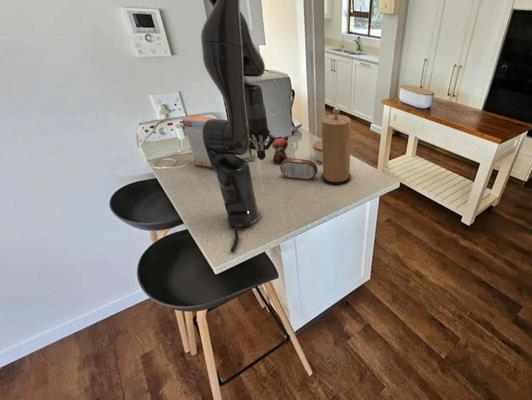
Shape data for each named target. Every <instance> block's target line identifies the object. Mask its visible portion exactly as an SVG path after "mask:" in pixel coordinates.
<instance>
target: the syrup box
mask: <svg viewBox="0 0 532 400" xmlns="http://www.w3.org/2000/svg"><path fill="white" fill-rule="evenodd" d="M238 157H239V158H241V159H243V160H245V161H246V162H250V161H252V162H253V161H254V152H253V150H252V149H251V148H250V147H249V148H248V151H247V152H246V153H245V154H244V155H238Z"/></svg>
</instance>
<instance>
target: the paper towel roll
mask: <svg viewBox="0 0 532 400" xmlns="http://www.w3.org/2000/svg"><path fill="white" fill-rule="evenodd" d="M340 111H341V110H340V108H339V107H338V106H337V107H336V106H335V107H333V109H332V112H333V114H329V115H324V116H323V117H321V140H322V154H323V163H322V174H321V180H322V181H323V182H324V183H325V184H328V185H331V186H342V185H346V184H348V183H349V182H350V181H351V173H350V166H351V164H350V163H351V136H352V134H351V132H352V119H351V118H350V117H349V116H346V115H342V114H339V113H340Z"/></svg>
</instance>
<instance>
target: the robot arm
mask: <svg viewBox="0 0 532 400" xmlns="http://www.w3.org/2000/svg"><path fill="white" fill-rule="evenodd" d="M208 1H209V3H210V5H211V8H212V9H211V11H210V13H209V15H208V16H207V18H206V20H205V22H204V24H203V26H202V28H201V29H202V30H201V33H200V41H201V51H202V53H201V54H202V62H203V65H204V68H205V71H206V73H207V74H208V76H209V78H210V79H211V81H212V82H213V84H214V85H215V87H216V88H217V90H218V91H219V93H220V94H221V96H222V98H223V100H224V103H225V107H226V111H227V118H228V119H222V118H217V119H210V120H207V121H206V122H205V123H204V126H203V129H202V138H203V143H204V146H205V149H206V152H207V155H208V158H209V160H210V163H211V166H212V168H211V169H212V171H214V172H215V174H216V178H217V182H218V185H219V186H218V187H219V190H220V192H221V196H222V200H223V203H224V207H225V210H226V214H227V220H228V223H229V226H230V228H234V240H233V241H234V242H233V244H232V246H231V248H230V252H235V251H236V247H237V245H238V243H239V228H251V227H252V225H254V224H255V223H257V221H258V220H259V219H260V213H259V209H258V204H257V200H256V194H255V190H254V185H253V180H252V174H251V169H250V165H249V162H248V161H245V160H243V159H241V158H239V155H244V154H245V153H246V152H247V151H248V148H249V147H250V148H251V149H252V151H253V150H254V151H256V156H257V159H258V160H259V161H264V160H265V158H266V151H268V150H269V149H270V147H272V144H273V142H274V140H275V138H276V139H277V136H276V135H275V134H274V135H273V134H271V131H270V129H269V126H268V117H267V111H266V105H265V102H264V94H263V88H262V86H261V85H260V84H258V83H255V82H251V81H250V80H248V79H247V78H250V77H251V78H260V77H262V76H263V75H264V73H265V71H266V65H265V61H264V58H263V57H262V55H261V53H260V52H259V50H258V49H257V47H256V45H255V43H254V41H253V39H252V35H251V32H250V28H249V24H248V22H247V20H246V18H245V16H244V14H243V12H242V11H241V0H208ZM266 140H269V141H268V142H267V143H266Z"/></svg>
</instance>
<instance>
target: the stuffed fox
mask: <svg viewBox="0 0 532 400" xmlns="http://www.w3.org/2000/svg"><path fill="white" fill-rule="evenodd" d="M289 139H290V137H289V136H286V137H278V138H277V137H276V138H275V140H274V142H273V143H272V145H271V147H272V148H273V149H274V154H273V162H275V164H276V165H280V163H281V158H282V159H283V160H285V159H286V158H289V157H288V155H287V153H286V150H287V149H288V146H289V142H288V141H289Z"/></svg>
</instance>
